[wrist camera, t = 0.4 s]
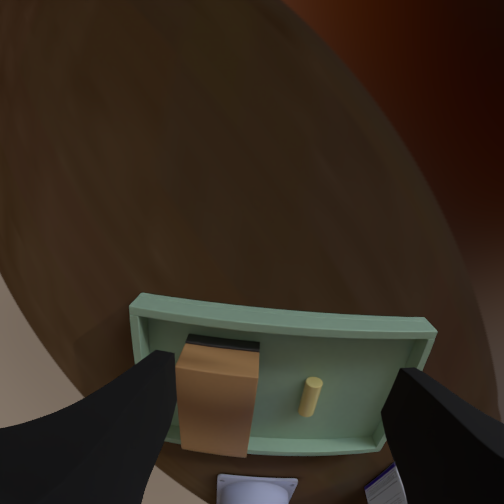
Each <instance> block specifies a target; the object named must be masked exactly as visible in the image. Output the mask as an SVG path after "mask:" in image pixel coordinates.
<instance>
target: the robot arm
mask: <svg viewBox="0 0 504 504" xmlns="http://www.w3.org/2000/svg"><path fill="white" fill-rule="evenodd" d="M176 403H177V390H176V372H175V353H172V352H167V351H161V350H155V351H153V352H152V353H150V354H149V355H148V356H146V357H145V358H143V359H142V360H141V361H139V362H138V363H137V364H135V365H134V366H133V367H131V368H130V369H129V370H127V371H126V372H124V373H123V374H121V375H120V376H119V377H117V378H116V379H114V380H113V381H111V382H110V383H108V384H107V385H105V386H104V387H102V388H100V389H99V390H97V391H95V392H94V393H92V394H90V395H89V396H87V397H85V398H84V399H82V400H80V401H78V402H76V403H74V404H72V405H70V406H68V407H66V408H63V409H61V410H59V411H57V412H54V413H52V414H49V415H46V416H43V417H40V418H38V419H35V420H32V421H28V422H25V423H22V424H18V425H14V426H10V427H5V428H0V504H141V502H142V499H143V494H144V491H145V488H146V485H147V482H148V479H149V477H150V474H151V472H152V470H153V467H154V465H155V462H156V460H157V458H158V455H159V453H160V450H161V448H162V446H163V443H164V441H165V438H166V436H167V433H168V431H169V428H170V426H171V422H172V418H173V415H174V411H175V407H176ZM381 417H382V422H383V427H384V432H385V436H386V439H387V442H388V445H389V448H390V450H391V453H392V456H393V459H394V461H395V464H396V467H397V470H398V473H399V475H400V478H401V481H402V484H403V487H404V491H405V495H406V500H407V504H504V424H503V423H501V422H499V421H497V420H495V419H493V418H492V417H490V416H488V415H486V414H485V413H483V412H481V411H480V410H478V409H476V408H475V407H473V406H472V405H470V404H469V403H467V402H466V401H464V400H463V399H461V398H460V397H458V396H457V395H455V394H454V393H452V392H451V391H450V390H448V389H447V388H445V387H444V386H443V385H441V384H440V383H438V382H437V381H436V380H434V379H433V378H431V377H430V376H428V375H427V374H425V373H424V372H422V371H420V370H419V369H417V368H415V367H411V368H400V369H399V372H398V374H397V376H396V379H395V381H394V384H393V386H392V388H391V390H390V393H389V395H388V397H387V399H386V401H385V404H384V406H383V408H382V410H381ZM297 484H298V479H296V478H265V477H249V476H238V475H228V474H219V475H218V477H217V504H289V500H290V498H291V496H292V494H293V492H294V490H295V488H296V486H297Z"/></svg>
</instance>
